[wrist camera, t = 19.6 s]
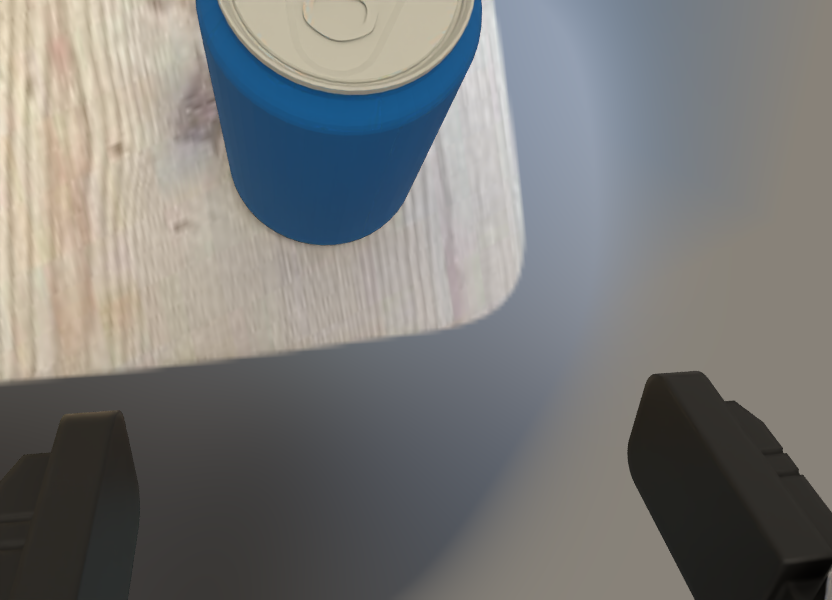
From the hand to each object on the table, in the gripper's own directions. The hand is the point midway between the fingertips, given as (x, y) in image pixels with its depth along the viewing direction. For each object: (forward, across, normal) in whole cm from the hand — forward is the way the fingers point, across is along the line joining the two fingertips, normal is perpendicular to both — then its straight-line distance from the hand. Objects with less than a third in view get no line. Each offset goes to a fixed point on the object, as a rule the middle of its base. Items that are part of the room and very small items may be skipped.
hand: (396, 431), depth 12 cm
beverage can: (+18, 0, +4) cm, 18 cm away
